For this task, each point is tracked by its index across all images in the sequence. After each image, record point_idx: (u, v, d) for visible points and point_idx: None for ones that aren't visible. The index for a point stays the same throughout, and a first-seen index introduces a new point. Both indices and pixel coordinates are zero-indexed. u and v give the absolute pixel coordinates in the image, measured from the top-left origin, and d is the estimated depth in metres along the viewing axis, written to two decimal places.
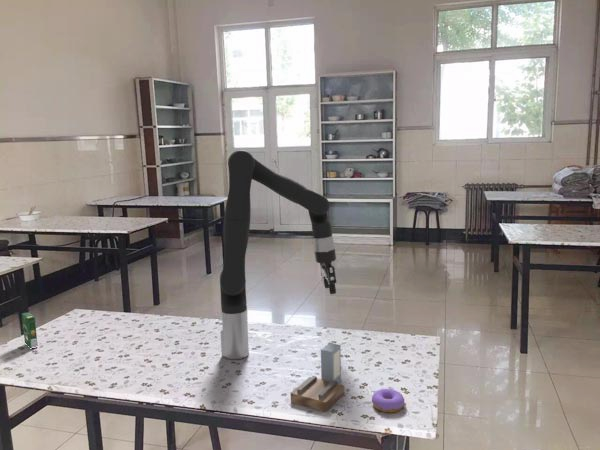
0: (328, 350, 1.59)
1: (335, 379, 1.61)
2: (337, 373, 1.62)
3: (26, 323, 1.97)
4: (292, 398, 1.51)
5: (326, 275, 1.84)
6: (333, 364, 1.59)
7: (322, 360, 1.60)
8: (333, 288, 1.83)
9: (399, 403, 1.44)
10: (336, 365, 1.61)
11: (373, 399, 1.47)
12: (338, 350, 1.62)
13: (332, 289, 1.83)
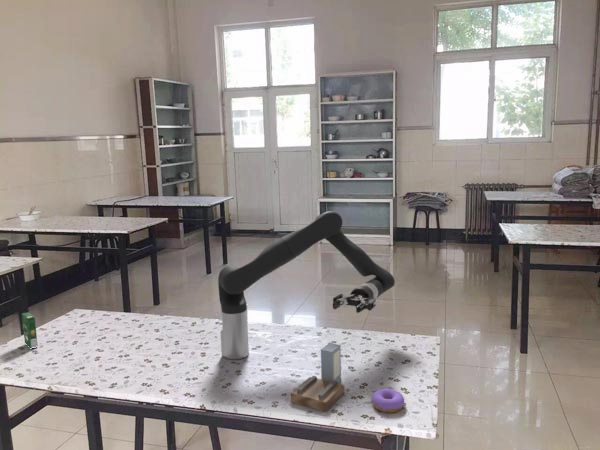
0: (328, 350, 1.59)
1: (335, 379, 1.61)
2: (337, 373, 1.62)
3: (26, 323, 1.97)
4: (292, 398, 1.51)
5: None
6: (333, 364, 1.59)
7: (322, 360, 1.60)
8: (362, 308, 1.69)
9: (399, 403, 1.44)
10: (336, 365, 1.61)
11: (373, 399, 1.47)
12: (338, 350, 1.62)
13: (362, 308, 1.68)
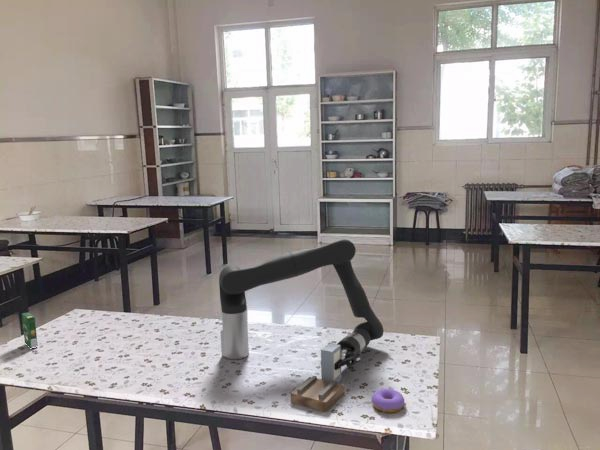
0: (328, 350, 1.59)
1: (335, 379, 1.61)
2: (337, 373, 1.62)
3: (26, 323, 1.97)
4: (292, 398, 1.51)
5: (345, 354, 1.65)
6: (333, 364, 1.59)
7: (322, 360, 1.60)
8: (341, 365, 1.61)
9: (399, 403, 1.44)
10: None
11: (373, 399, 1.47)
12: (338, 350, 1.62)
13: (340, 364, 1.61)
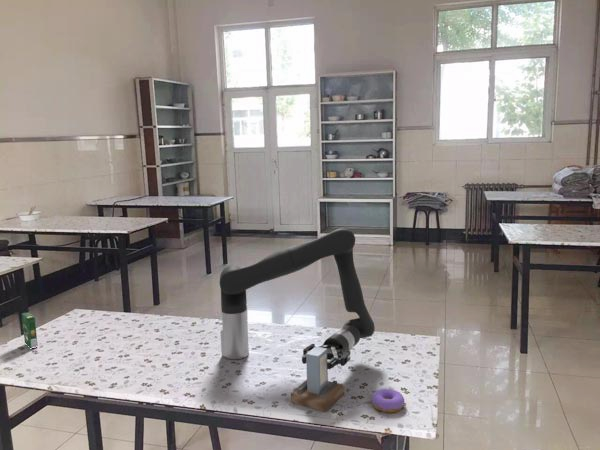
0: (314, 354, 1.49)
1: (321, 385, 1.51)
2: (324, 379, 1.52)
3: (26, 323, 1.97)
4: (292, 398, 1.51)
5: None
6: (319, 369, 1.49)
7: (308, 365, 1.50)
8: (334, 364, 1.50)
9: (399, 403, 1.44)
10: (323, 370, 1.51)
11: (373, 399, 1.47)
12: (325, 354, 1.52)
13: (334, 363, 1.50)
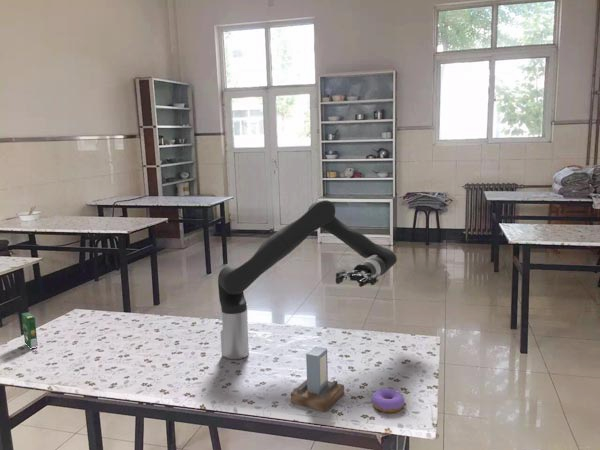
0: (314, 354, 1.49)
1: (321, 385, 1.51)
2: (324, 379, 1.52)
3: (26, 323, 1.97)
4: (292, 398, 1.51)
5: None
6: (319, 369, 1.49)
7: (308, 365, 1.50)
8: (365, 283, 1.69)
9: (399, 403, 1.44)
10: (323, 370, 1.51)
11: (373, 399, 1.47)
12: (325, 354, 1.52)
13: (365, 282, 1.69)
